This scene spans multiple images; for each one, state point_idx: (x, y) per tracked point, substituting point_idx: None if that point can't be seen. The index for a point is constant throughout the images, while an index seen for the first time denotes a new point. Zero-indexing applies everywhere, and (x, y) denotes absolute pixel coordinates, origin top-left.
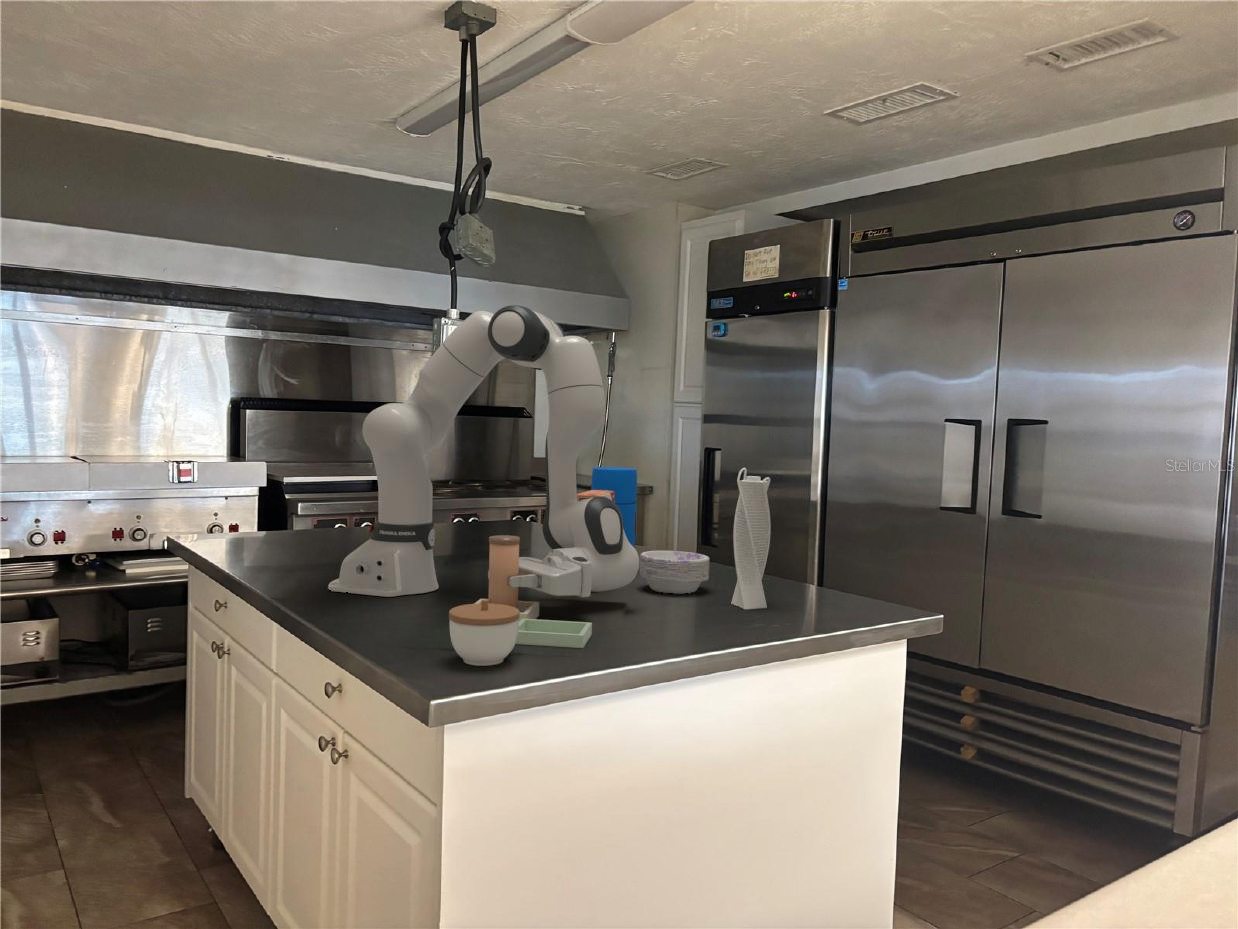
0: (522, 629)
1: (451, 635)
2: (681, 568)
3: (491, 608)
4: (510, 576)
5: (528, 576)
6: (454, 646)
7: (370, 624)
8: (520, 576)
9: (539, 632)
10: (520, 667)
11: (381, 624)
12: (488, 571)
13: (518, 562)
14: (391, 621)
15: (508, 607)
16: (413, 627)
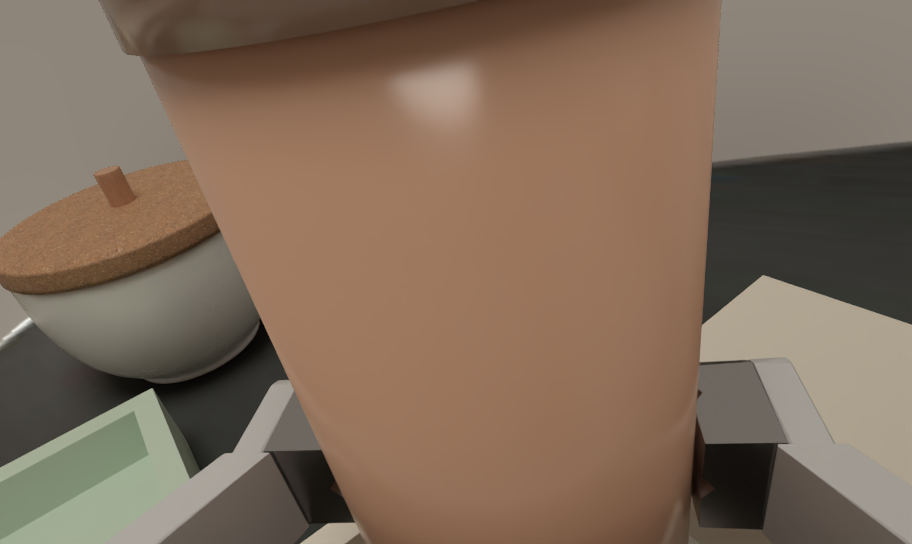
0: None
1: None
2: None
3: (107, 215)
4: None
5: (136, 523)
6: None
7: (823, 231)
8: (229, 453)
9: (4, 469)
10: (60, 386)
11: (813, 251)
12: (776, 358)
13: (298, 394)
14: (869, 279)
15: (48, 250)
16: (720, 309)
